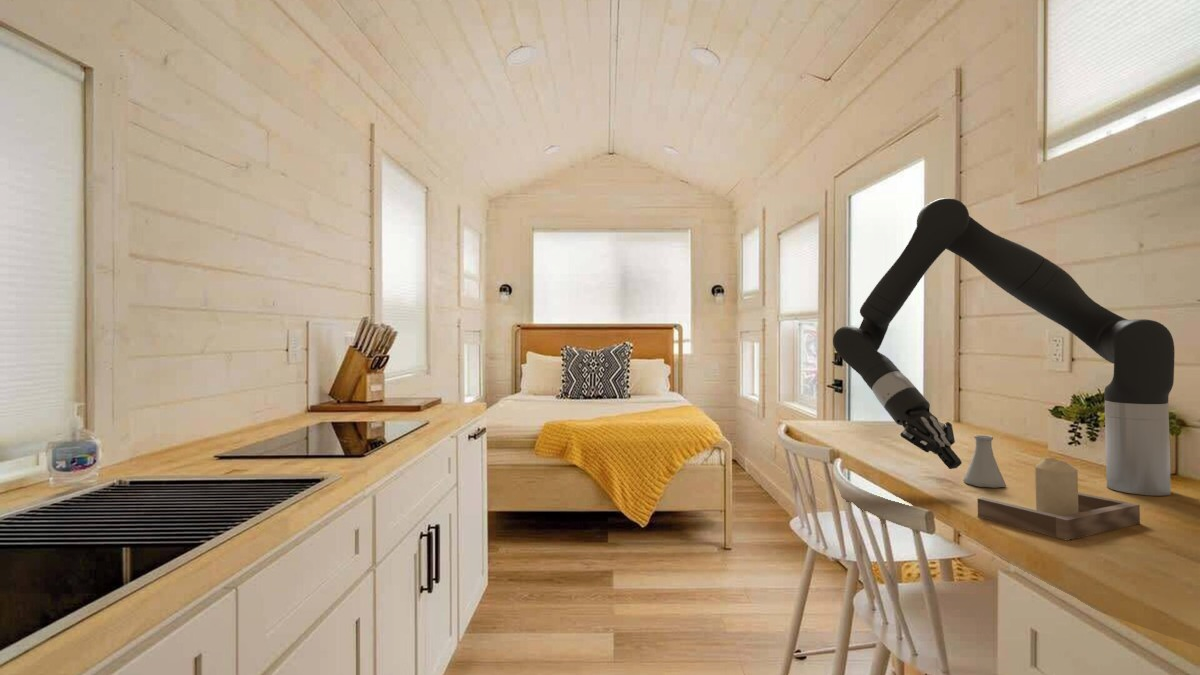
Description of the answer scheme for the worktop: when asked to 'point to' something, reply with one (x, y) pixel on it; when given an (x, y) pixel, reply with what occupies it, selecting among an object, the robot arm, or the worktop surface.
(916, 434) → the robot arm
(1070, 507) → the beige milk carton
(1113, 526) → the walnut bay
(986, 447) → the flask
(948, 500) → the worktop surface
